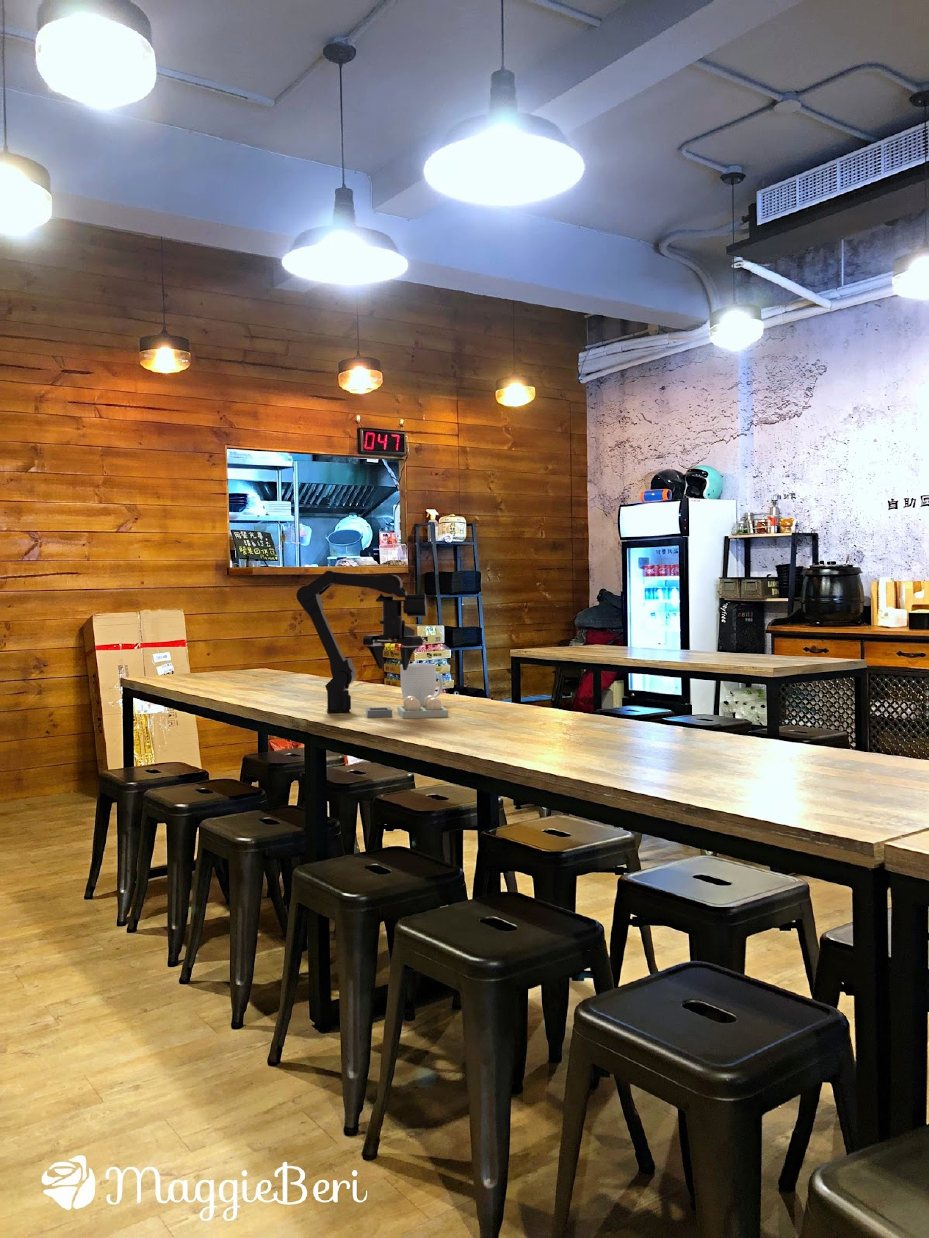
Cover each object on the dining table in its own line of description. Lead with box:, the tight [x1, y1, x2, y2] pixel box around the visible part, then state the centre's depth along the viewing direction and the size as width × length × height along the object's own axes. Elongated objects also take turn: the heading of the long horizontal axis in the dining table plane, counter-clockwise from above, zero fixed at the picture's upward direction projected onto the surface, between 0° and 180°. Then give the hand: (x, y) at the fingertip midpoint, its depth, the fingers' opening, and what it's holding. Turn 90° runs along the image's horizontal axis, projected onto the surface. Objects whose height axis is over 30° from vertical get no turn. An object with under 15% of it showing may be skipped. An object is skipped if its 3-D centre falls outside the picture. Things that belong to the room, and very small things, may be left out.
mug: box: [399, 662, 444, 705], centre depth 295 cm, size 15×11×13 cm
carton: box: [396, 695, 449, 719], centre depth 275 cm, size 13×13×5 cm
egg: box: [406, 698, 421, 711], centre depth 271 cm, size 4×4×4 cm
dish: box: [365, 706, 393, 718], centre depth 273 cm, size 7×7×2 cm
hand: (392, 669), depth 282 cm, fingers open, 9 cm apart
